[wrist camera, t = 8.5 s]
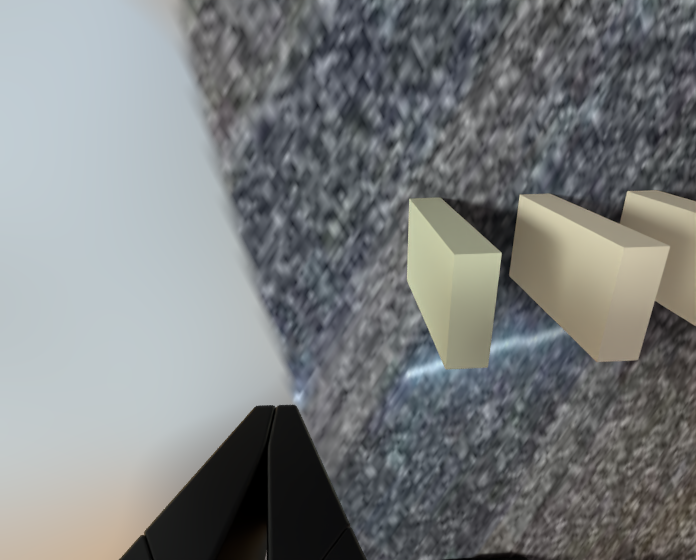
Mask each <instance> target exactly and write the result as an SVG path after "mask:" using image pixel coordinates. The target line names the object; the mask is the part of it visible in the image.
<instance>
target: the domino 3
mask: <svg viewBox="0 0 696 560" xmlns="http://www.w3.org/2000/svg"><path fill="white" fill-rule="evenodd" d="M620 224H621V225H623V226H625V227H628V228H630V229H632V230H635V231H637V232H639V233H642V234H644V235H646V236H648V237H651V238H653V239H655V240H658V241H660V242H662V243H664V244H667V245H669V246H670V249H669V253H668V256H667V260H666V263H665V267H664V270H663V274H662V277H661V281H660V284H659V288H658V291H657V295H656V298H655V301H656V302H658V303H659V304H661V305H662V306H664V307H666V308H667V309H669V310H670V311H672V312H674V313H675V314H677V315H678V316H680V317H682V318H683V319H685V320H686V321H688V322H690V323H691V324H693V325H694V326H696V201H693V200H689V199H686V198H682V197H679V196H675V195H672V194H668V193H665V192H661V191H658V190H649V191H627V194H626V199H625V203H624V207H623V212H622V216H621V220H620Z"/></svg>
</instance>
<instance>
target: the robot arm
mask: <svg viewBox="0 0 696 560" xmlns="http://www.w3.org/2000/svg"><path fill="white" fill-rule="evenodd" d="M144 535H145V536H144ZM144 535H141V536H140V537H139V538H138V539H137V540H136V541H135V542H134V544H133V545H132V546H131V547H130V548H129V549H128V550H127V552H126V553H125V554H124V555H123V556H122V557H121V558H120V559H119V560H265V556H266V550H267V560H367V559H366V557H365V555H364V553H363V551H362V549H361V547H360V545H359V543H358V540H357V538H356V536H355V534H354V532H353V529H352V528H351V527H350V523H349V521H348V519H347V517H346V514H345V512H344V510H343V508H342V505H341V503H340V501H339V499H338V497H337V494H336V492H335V490H334V488H333V486H332V483H331V481H330V479H329V477H328V474H327V472H326V470H325V468H324V466H323V463H322V461H321V459H320V457H319V454H318V452H317V450H316V448H315V446H314V443H313V441H312V439H311V437H310V434H309V432H308V430H307V428H306V426H305V423H304V421H303V419H302V417H301V415H300V412H299V410H298V408H297V406H295V405H279V406H277V407H275V406H273V405H269V406H268V405H267V406H256V407H254V409H253V410H252V411H251V412H250V413H249V414H248V415H247V416H246V418H245V419H244V420H243V421H242V422H241V423H240V424H239V426H238V427H237V428H236V429H235V430H234V431H233V432H232V433H231V435H230V436H229V437H228V438H227V439H226V440H225V441H224V442H223V443H222V445H221V446H220V447H219V448H218V449H217V450H216V451H215V452H214V454H213V455H212V456H211V457H210V458H209V459H208V460H207V462H206V463H205V464H204V465H203V466H202V467H201V468H200V469H199V471H198V472H197V473H196V474H195V475H194V476H193V477H192V478H191V480H190V481H189V482H188V483H187V484H186V485H185V486H184V487H183V489H182V490H181V491H180V492H179V493H178V494H177V495H176V497H175V498H174V499H173V500H172V501H171V502H170V503H169V504H168V506H167V507H166V508H165V509H164V510H163V511H162V512H161V513H160V515H159V516H158V517H157V518H156V519H155V520H154V521H153V522H152V524H151V525H150V526H149V527H148V528H147V529H146V530H145V532H144ZM492 560H528V559H527V558H509V559H492Z"/></svg>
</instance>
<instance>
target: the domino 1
mask: <svg viewBox="0 0 696 560" xmlns="http://www.w3.org/2000/svg"><path fill="white" fill-rule="evenodd" d="M501 255H502V253H501V252H500V251H499V250H498V249H497V248H496V247H495V246H494V245H492V244H491V243H490V242H489V241H488V240H487V239H486V238H485V237H484V236H482V235H481V234H480V233H479V232H478V231H477V230H476V229H475V228H474V227H472V226H471V225H470V224H469V223H468V222H467V221H466V220H465V219H464V218H462V217H461V216H460V215H459V214H458V213H457V212H456V211H455V210H454V209H452V208H451V207H450V206H449V205H448V204H447V203H446V202H445V201H444V200H442V199H441V198H414V199H409V232H408V264H407V281H408V284H409V286H410V288H411V290H412V293H413V295H414V297H415V300H416V302H417V304H418V307H419V309H420V311H421V314H422V316H423V318H424V320H425V323H426V325H427V327H428V330H429V332H430V334H431V337H432V339H433V341H434V344H435V346H436V348H437V350H438V353H439V355H440V357H441V360H442V362H443V364H444V367H445V369H464V368H485V367H488V362H489V354H490V345H491V337H492V329H493V321H494V312H495V304H496V296H497V288H498V280H499V271H500V263H501Z"/></svg>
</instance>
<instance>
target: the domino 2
mask: <svg viewBox="0 0 696 560" xmlns="http://www.w3.org/2000/svg"><path fill="white" fill-rule="evenodd" d="M669 249H670V246H669V245H667V244H664V243H662V242H660V241H658V240H655V239H653V238H651V237H648V236H646V235H644V234H642V233H639V232H637V231H635V230H632V229H630V228H628V227H625V226H623V225H621V224H619V223H616V222H614V221H612V220H609V219H607V218H605V217H602V216H600V215H598V214H596V213H593V212H591V211H589V210H586V209H584V208H582V207H580V206H577V205H575V204H573V203H570V202H568V201H566V200H563V199H561V198H559V197H557V196H554V195H552V194H525V195H520V198H519V205H518V213H517V220H516V228H515V235H514V242H513V250H512V257H511V265H510V272H509V276H510V277H511V278H512V279H513V280H514V281H515V282H516V283H517V284H518V285H519V286H520V287H521V288H522V289H523V290H524V291H525V292H526V293H527V294H528V295H529V296H530V297H531V298H532V299H533V300H534V301H535V302H536V303H537V304H538V305H539V306H540V307H541V308H542V309H543V310H544V311H545V312H546V313H547V314H548V315H549V316H550V317H552V318H553V319H554V320H555V321H556V322H557V323H558V324H559V325H560V326H561V327H562V328H563V329H564V330H565V331H566V332H567V333H568V334H569V335H570V336H571V337H572V338H573V339H574V340H575V341H576V342H577V343H578V344H579V345H580V346H581V347H582V348H583V349H584V350H585V351H586V352H587V353H588V354H589V355H590V356H591V357H592V358H593V359H594V360H595V361H596V362H608V361H630V360H638V358H639V355H640V351H641V348H642V344H643V341H644V337H645V334H646V330H647V327H648V323H649V320H650V316H651V312H652V309H653V305H654V302H655V298H656V295H657V291H658V288H659V284H660V281H661V277H662V274H663V270H664V267H665V263H666V260H667V256H668V253H669Z"/></svg>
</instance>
